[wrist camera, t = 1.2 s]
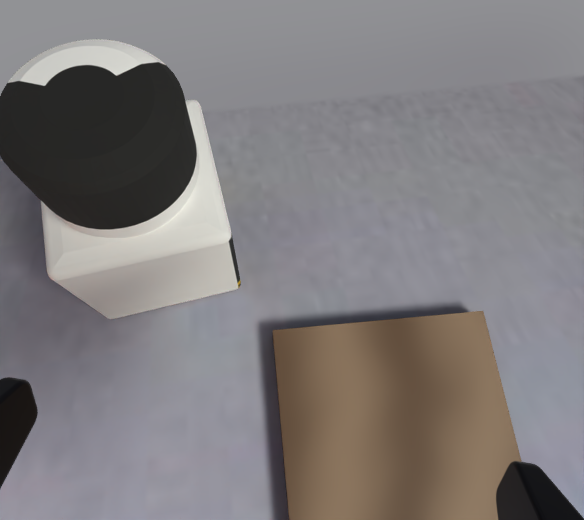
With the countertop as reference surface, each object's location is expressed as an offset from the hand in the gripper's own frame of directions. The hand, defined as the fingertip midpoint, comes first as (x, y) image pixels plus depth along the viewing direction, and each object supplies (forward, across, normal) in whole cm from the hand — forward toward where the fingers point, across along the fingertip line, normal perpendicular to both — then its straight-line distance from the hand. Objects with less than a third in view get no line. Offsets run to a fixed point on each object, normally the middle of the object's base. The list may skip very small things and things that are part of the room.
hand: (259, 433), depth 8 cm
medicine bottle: (+16, +8, +6) cm, 19 cm away
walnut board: (+10, -5, +11) cm, 16 cm away
